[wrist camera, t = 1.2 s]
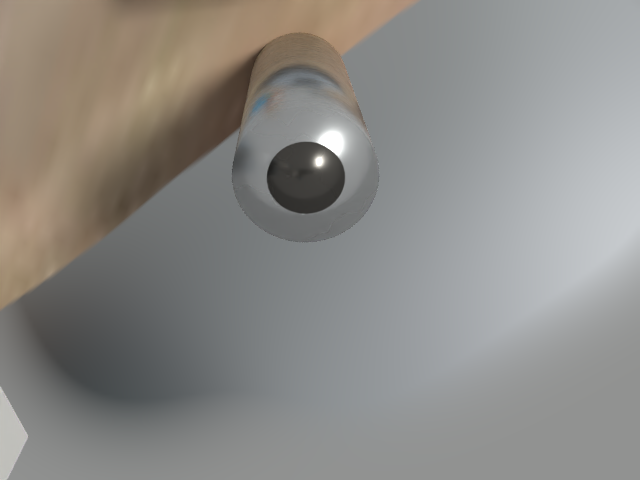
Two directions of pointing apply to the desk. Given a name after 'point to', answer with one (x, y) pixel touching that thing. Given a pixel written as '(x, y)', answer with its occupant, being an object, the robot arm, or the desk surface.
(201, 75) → the desk surface
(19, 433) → the robot arm
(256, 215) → the bushing
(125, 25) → the desk surface
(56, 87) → the desk surface
